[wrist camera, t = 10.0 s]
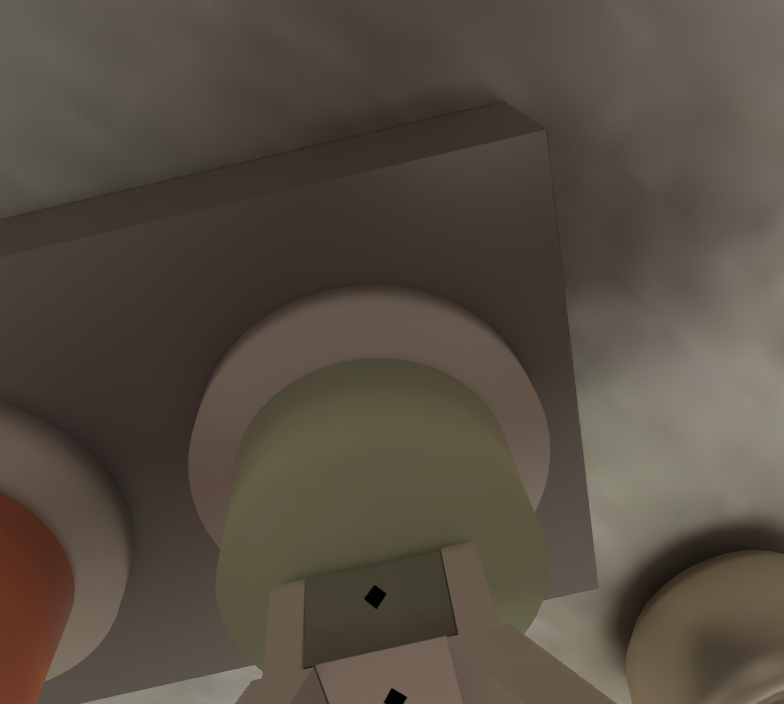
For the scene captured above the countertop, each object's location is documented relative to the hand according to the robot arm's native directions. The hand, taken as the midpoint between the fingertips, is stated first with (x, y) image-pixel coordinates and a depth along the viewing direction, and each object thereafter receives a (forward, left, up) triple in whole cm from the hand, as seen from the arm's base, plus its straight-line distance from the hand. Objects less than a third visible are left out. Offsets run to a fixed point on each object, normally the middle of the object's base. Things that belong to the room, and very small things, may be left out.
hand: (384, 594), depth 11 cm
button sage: (0, 0, -3) cm, 3 cm away
